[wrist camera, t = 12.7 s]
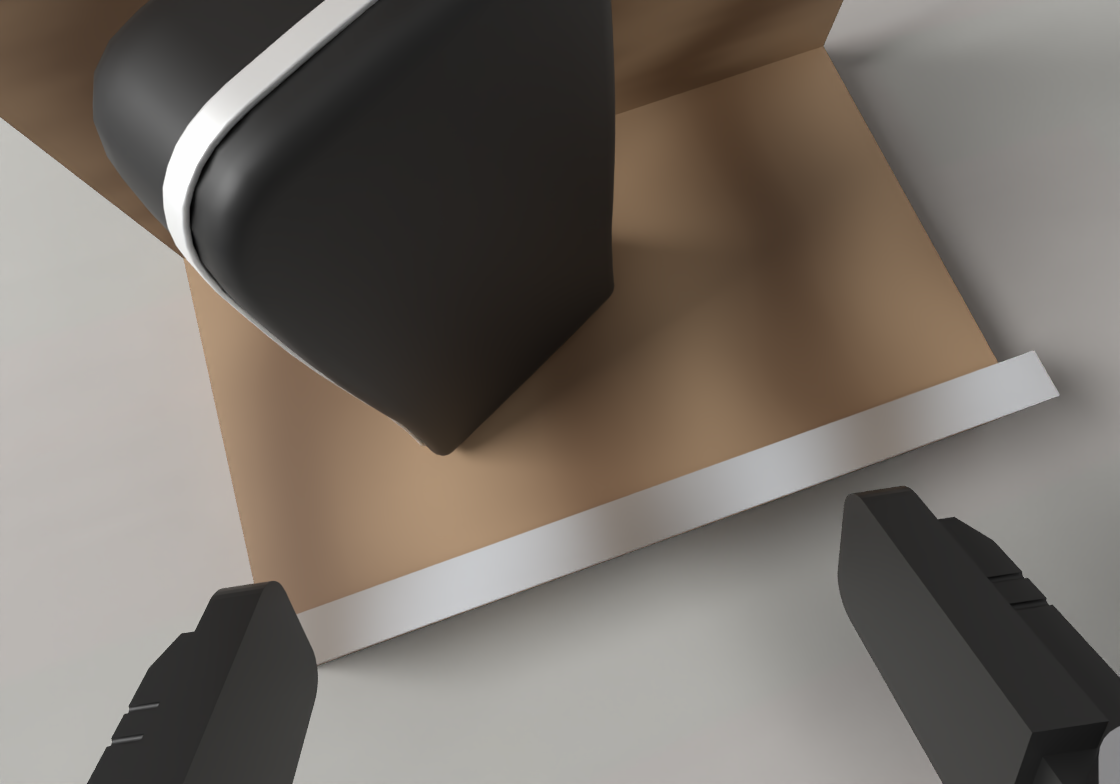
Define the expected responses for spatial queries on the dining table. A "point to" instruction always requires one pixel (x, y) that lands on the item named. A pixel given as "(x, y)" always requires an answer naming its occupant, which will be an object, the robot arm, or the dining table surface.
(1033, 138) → the dining table surface
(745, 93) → the shelf
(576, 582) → the dining table surface
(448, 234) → the battery charger
